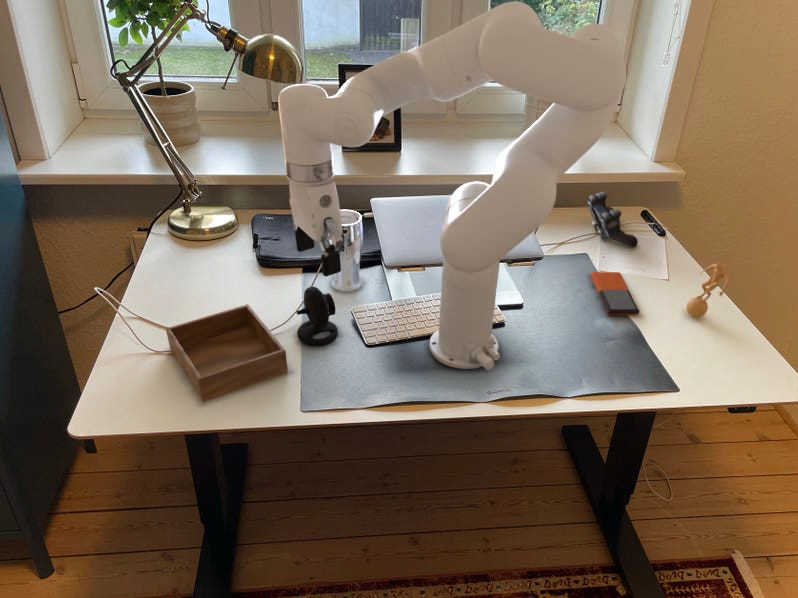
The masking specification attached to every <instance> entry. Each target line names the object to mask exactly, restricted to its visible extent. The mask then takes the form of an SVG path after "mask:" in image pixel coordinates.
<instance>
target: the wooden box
mask: <svg viewBox="0 0 798 598" xmlns="http://www.w3.org/2000/svg"><path fill="white" fill-rule="evenodd" d="M165 332H166V336H167V341H168V346H169V350H170V352H171V354H172V355H173V357H174V359H175V360H176V362H177V363H178V365H179V367H180V368H181V370H182V372H183V374H184V376H185V377H186V378H187V380H188V381H189V383H190V385H191V387H192V388H193V389H194V391H195V392H196V394H197V396H198V398H199V399H200V400H201V402H202V403H206V402H208V401H211V400H214V399H217V398H219V397H223V396H225V395H228V394H231V393H234V392H237V391H240V390H243V389H246V388H248V387H251V386H254V385H257V384H260V383H262V382H265V381H269V380H272V379H274V378H277V377H279V376H283V375H286V374H288V373H289V369H288V360H287V351H286V349H285V348H284V346H283V345H282V343H280V341H279V340H278V339H277V338H276V337H275V335H274V334H273V333H272V332H271V331H270V329H269V328H268V327H267V325H265V323H264V322H263V321H262V320H261V318H260V317H259V316H258V315H257V313H256V311H255V310H254V309H253V308H252V307H251V306H250V305H249V304H248V303H247V304H244V305H239V306H236V307H234V308H230V309H227V310H224V311H220V312H217V313H213V314H210V315H206V316H204V317H199V318H197V319H193V320H190V321H187V322H183V323H180V324H177V325H173V326H170V327H166V328H165Z"/></svg>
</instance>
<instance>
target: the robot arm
mask: <svg viewBox="0 0 798 598" xmlns="http://www.w3.org/2000/svg"><path fill="white" fill-rule="evenodd" d="M492 81H493V82H494V83H497V84H498V85H500V86H502V87H505V88H507V89H510V90H512V91H514V92H518V93H521V94H523V95H526V96H530V97H533V98H536V99H539V100H542V101H546V102H549V103H552V104H551V105H550V106H549V107H548V108H547V109H546V110H545V112H544V113H543V114H542V115H541V116H540V117H539V118H537V120H536V121H535V122H534V123H533V124H531V126H529V128H527V129H526V130H525V131H524V132H523V133H522V134H521V135H520V136H519V137H518V138H516V139H515V140H514V141H513V142H512V143H511V144H510V145H509V146H507V147H506V148H505V149H504V150H503V151H502V152H501V153H500V154H499V156H498V157H497V159H496V161H495V163H494V167H493V172H492V179H491V183H490V184H488V183H486V182H482V181H471V182H467V183H464V184H462V185H461V186H459V187H458V188H456V190H454V192H453V193H452V194H451V196H450V197H449V199H448V201H447V203H446V207H445V210H444V216H443V221H442V227H441V232H440V239H439V244H440V245H439V246H440V250H441V254H442V256H443V257H442V270H441V271H442V272H441V287H440V303H439V304H440V305H439V319H438V320H439V322H438V329H437V330H436V331H434V332H433V333H432V335H431V336H430V339H429V352H430V353H431V355H432V356H433V357H434V358H435V359H436V360H437V361H438V362H440V364H444V365H445V366H448V367H451V368H454V369H459V370H472V369H473V370H474V369H479V368H484V369H485V370H487V371H490V370H492V369H493V368H494V366H495V361H499V360H500V358H501V354H500V353H499V342H498V340H497V337H496V336H495V335H494V334H493V326H494V325H493V323H494V316H495V305H496V299H497V298H496V297H497V289H498V280H499V272H500V264H501V260H502V259H503V258H504V257H505V256H506V255H508V254H509V253H510V252H511V251H512V250H513V249H515V248H516V247H517V246H518V245H519V244H520V243H522V242H523V241H524V240H525V239H526V238H528V237H529V236H530V235H531V234H532V233H533V232H535V231H536V230H537V229H538V228H539V227H540V226H542V224H543V223H544V222H545V221H546V219H547V218H548V217H549V215H550V214H551V212H552V211H553V209H554V206H555V204H556V199H557V192H558V191H557V190H558V189H557V188H558V187H557V184H558V181H559V180H560V178H561V177H563V175H564V174H565V173H566V172H568V170H569V169H571V167H573V166H574V165H575V164H576V163H577V162H578V161H579V160H580V159H581V158H582V157H583V156H584V155H585V154H586V153H588V152H589V150H590V149H591V148H593V146H595V144H596V143H597V142H598V141H599V139H600V138H601V137H602V136H603V134H604V133H605V132H606V130H607V128H608V127H609V125H610V124H611V121H612V120H613V118H614V115H615V113H616V110H617V108H618V106H619V105H618V104H619V102H620V98H621V94H622V93H623V91H624V89H625V86H626V82H627V65H626V62H625V59H624V54H623V50H622V47H621V44H620V41H619V38H618V37H617V35H615V33H614V32H613V30H611V29H610V28H609V27H608V26H606V25H603V24H601V23H588V24H584V25H582V26H579V28H577V29H575V30H574V31H573V32H572V33H571V34H570V35H569V36H568V35H566V34H562V33H559V32H556V31H553V30H550V29H549V28H545V27H544V26H543V25H542V22H541V19H540V18H539V16H538V14H537V13H536V11H535V10H534V9H533V8H532V7H531V6H530V5H528V4H526V3H525V2H522V1H517V0H516V1H515V0H514V1H507V2H504V3H502V4H499V5H497V6H495V7H493V8H491V9H489V10H487V11H485V12H483V13H481V14H480V15H478V16H476V17H474V18H471V19H470V20H468V21H466V22H464V23H462V24H460V25H459V26H456V27H455V28H452V29H451V30H449V31H447V32H445V33H443V34H441V35H439V36H438V37H435V38H433V39H431V40H428V42H426V43H423V44H421V45H418V46H415V47H412V48H410V49H409V50H405V51H403V52H399V53H396V54H394V55H392V56H389V57H388V58H386V59H384V60H381V61H380V62H378V63H376V64H373V65H372V66H370V67H367V68H366V69H364V70H362V71H360V72H358V73H357V74H355V75H354V76H352V77H350V78H349V79H348V80H346V81H345V83H343V84H342V86H341V87H340V89H339V90H338V91H337V92H336V94H334V95H332V96H328V93H327V91H326V90H325V89H324V88H322V87H321V86H319V85H316V84H309V83H298V84H292V85H289V86H286V87H284V88H283V89H281V91H280V92H279V93H278V98H277V101H278V113H279V121H280V130H281V139H282V147H283V155H284V163H285V164H284V165H285V171H286V179H287V181H289V182H288V184H289V198H288V203H289V207H290V210H291V213H290V215H291V217H292V220H293V223H292V226H293V230H294V236H295V245H296V251H297V252H299V253H302V252H305V251H307V250H308V251H309V250H311V249H314V248H315V242H317V243H318V244H319V247H320V249H321V252H322V254H320V259H321V260H320V261H321V271H322V275H323V276H324V277H326V278H327V277H329V276H333V274H336V273H339V272H340V271H341V263H340V253H341V249H342V242H343V238H342V236H341V235H342V222H341V214H340V210H341V207H340V200H339V196H338V191H337V186H336V182H335V180H334V177H335V165H334V154H333V153H334V152H333V145H336V146H340V147H346V148H359V147H361V146H364V145H365V144H367V143H368V142H369V141H370V140H371V139H372V138H373V135H374V133H375V132H376V129H377V127H378V125H379V123H380V121H381V118H383V117H384V116H386V115H388V114H390V113H392V112H394V111H396V110H398V109H400V108H402V107H404V106H406V105H408V104H412V103H413V102H417V101H420V100H426V99H433V100H436V101H438V102H443V103H444V102H445V103H446V102H452V101H453V100H455V99H457V98H459V97H462V96H463V95H466V94H468V93H470V92H471V91H474V90H476V89H477V88H480V87H482V86H484V85H486V84H488V83H490V82H492ZM327 232H328V233H329V235H328V236H327V235H325V236H323V235H324V234H327ZM328 240H331V241H332V242H331V243H332V245H330V246H329V247H328V246H327V243H326V242H328Z"/></svg>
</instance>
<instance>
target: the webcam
mask: <svg viewBox="0 0 798 598" xmlns="http://www.w3.org/2000/svg"><path fill="white" fill-rule="evenodd" d="M303 306H304V307H303V308H301V309H299V310H296V315H297V316H299V315H306V316H307V318H308V320H307V321H304V322H302V324H301V325H300V326H299V327H298V329H297V332H296V335H297V338H298V340H299V341H300V342H301V343H303V344H304V345H306V346H309V347H324V346H328V345H330V344H331V343H333V342H335V341H336V339H337V338H338V336H339V329H338V326H337V325H336V324H335V323H333V322H332V321H330V317H331V316H334V315H336V309H337V308H336V303H335V300H334V298H333V295H332V294H331V293H329V292H327V293H323V292H322V291H321V289H319V288H318V287H316V286H309V287H306V288H305V290H304V292H303ZM321 333H329V334H328V335H326V336H325V337H319V338H314V337H315V336H316V335H318V334H321Z"/></svg>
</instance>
